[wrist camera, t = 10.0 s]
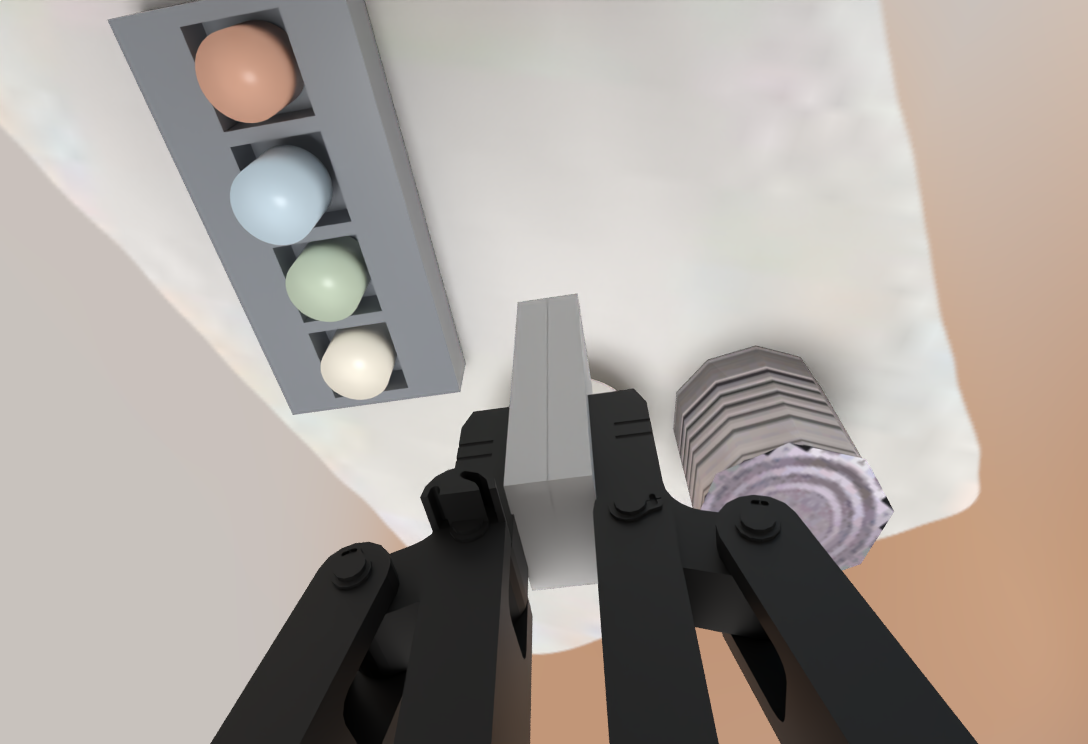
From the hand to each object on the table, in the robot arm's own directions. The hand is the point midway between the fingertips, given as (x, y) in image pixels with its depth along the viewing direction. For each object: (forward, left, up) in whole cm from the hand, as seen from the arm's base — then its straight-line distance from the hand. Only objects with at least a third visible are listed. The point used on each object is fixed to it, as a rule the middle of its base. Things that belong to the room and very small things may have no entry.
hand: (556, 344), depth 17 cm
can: (+24, +11, -27) cm, 38 cm away
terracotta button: (-5, -15, -25) cm, 30 cm away
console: (+4, -15, -26) cm, 31 cm away
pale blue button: (+1, -15, -23) cm, 28 cm away
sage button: (+7, -15, -25) cm, 30 cm away
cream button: (+13, -15, -25) cm, 32 cm away
